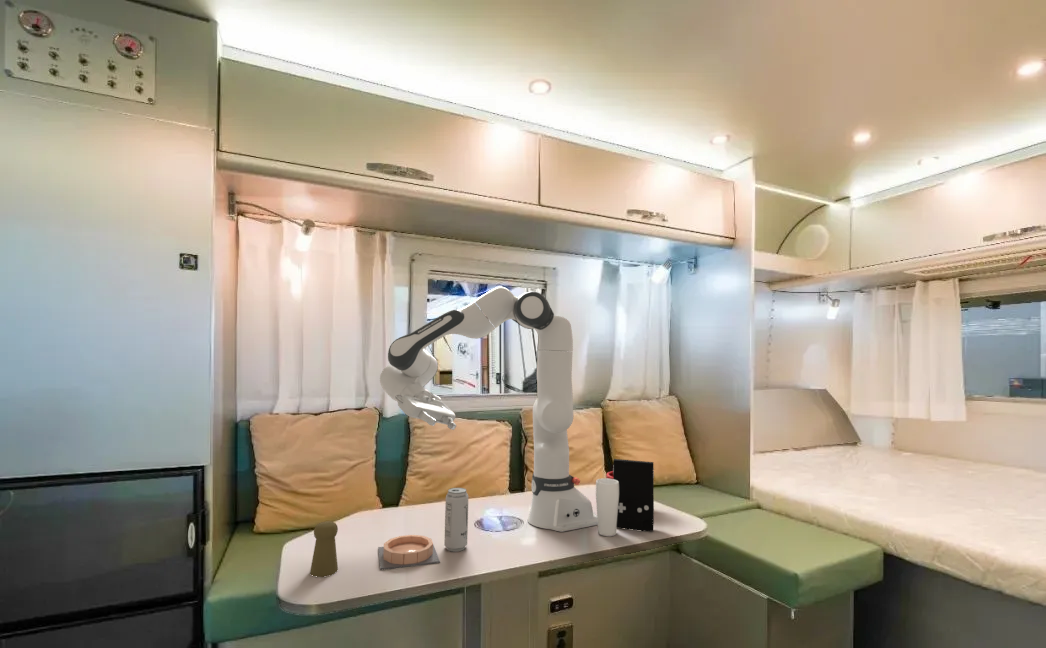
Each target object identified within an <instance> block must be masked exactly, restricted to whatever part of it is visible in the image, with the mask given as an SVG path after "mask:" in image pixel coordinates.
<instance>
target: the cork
mask: <svg viewBox="0 0 1046 648" xmlns="http://www.w3.org/2000/svg"><path fill="white" fill-rule="evenodd" d="M338 531H339V528H338V524H337V522H334V521H323V522H322V521H321V522H320V523H317V524H316V526H315V527H314V530H313V537H314V538H315V543H314V548H313V555H312V560H311V566H310V571H309V574H311V575H313V576H317V577H316V578H325V577H324V576H326V577H329V575H330V576H332V574H333V575H335V574H336V573H337V572H338V571H337V570H339V568H338V557H337V555H338V554H337V546H336V545H337V544H336V536H337V534H338ZM335 572H336V573H335ZM311 575H310V576H311ZM313 576H312V577H313Z"/></svg>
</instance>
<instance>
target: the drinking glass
mask: <svg viewBox="0 0 1046 648" xmlns="http://www.w3.org/2000/svg"><path fill="white" fill-rule="evenodd" d="M595 504H596V515H597V519H598V525H597V533H598V534H599V535H600V536H604V537H614V536H616V534H617V532H618V531H617V528H618V527H617V515H618V504H619V481H617V480H614V479H608V478H606V477H603V478H597V479H596V480H595Z"/></svg>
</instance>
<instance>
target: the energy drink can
mask: <svg viewBox="0 0 1046 648" xmlns="http://www.w3.org/2000/svg"><path fill="white" fill-rule="evenodd" d="M444 511H445V513H444V547H445V548H446V550H447V551H449V552H461V551H464V550H465V548H466V547H467V546H468V531H469V529H468V528H469V527H468V525H469V494H468V492H467V488H463V487H451V488H449V489H448V490H447V493H446V496H445V510H444Z"/></svg>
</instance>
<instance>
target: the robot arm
mask: <svg viewBox="0 0 1046 648" xmlns="http://www.w3.org/2000/svg"><path fill="white" fill-rule="evenodd" d="M508 320H512V321H514V322H515V323H516V324H518V325H519V326H521V327H522V328H524V329H527V330H534V331H536V333H537V337H538V339H537V340H538V343H537V345H538V346H537V359H536V360H537V362H536V382H537V383H536V385H537V390H536V393H537V395H536V397H537V398H536V399H535V401H534V403H533V406H532V433H533V474H532V477H531V492H532V498H531V504H530V509H529V514H528V518H527V522H528V524H529V525H532V526H533V527H537V528H541V529H546V530H552V531H557V532H561V533H562V532H567V531H572V530H578V529H583V528H588V527H592V526H598V519H597V513H595V512H594V510H593V505H592V502H591V500H590V499H589V498H588V497H587V496H586V495H585V494H584V493H583V492H581V491H580V490H579V489H577V488H576V487H575V485H576V486H579V485H580V484H581V480H580V478H578V477H577V476H575V477H574V476H573V475H571V474H570V447H569V439H568V438H569V437H568V429H569V428H570V427H571V426H572V424H573V422H574V395H573V394H574V393H573V381H572V380H573V379H572V377H573V375H572V371H573V350H574V349H573V348H574V342H573V341H574V339H573V331H572V325H571V322H570V321H569V320H568V319H567V318H565V317H564V316H559V315H555V313H554V311H553V309H552V307H551V305H550V303H549V301H548V300H547V298H546V297H545V296H544V295H543V294H542V293H540V292H537V291H533V290H532V291H526V292H523V293H522V294H520V295H519V296H515V294H513V292H511V290H509V288H506V287H504V286H496V287H495V288H492V289H491V290H489V291H487V292H486V293H484V294H482V295H481V296H479V297H478V298H476V299H475V300H474V301H473V302H470V303H469V304H468V305H466V306H464V307H462V308H460V309H459V308H458V309H452V310H448V311H447V312H445V313H443V314H441V315H439V316H437V317H436V318H434V319H432V320H431V321H429V322H427V323H425V324H424V325H423V326H421V327H419V328H417V329H416V330H414V331H413V332H410V333H407V334H404V335H403V336H401V337H398V338H396V339H395V340H393V342H392V343H391V344H390V346H389V348H388V351H387V361H388V362H389V363H388V364H390V365H387V366H385V367H384V368H383V369H382V371H381V373H380V375H379V383H380V386H381V387H382V389H383V390H384V392H385V393H386V394H387V395H388V396H389V397H390V398H391V399H392V400H393V401H396V402H397V406H398V408H399V409H400V410H401V411H402V412H403V413H404V414H405V415H406V416H408V417H409V418H413V419H417V420H421V421H423V422H425V423H427V425H429V426H433V427H434V426H435V425H436V424H437V423H438V424H442V425H446V427H447V428H448V429H450V430H453V431H454V430H455V429H456V427H457V424H456V423H455V422H454V421H455V420H456V414H455V412H453V410H452V409H451V408H450V407H449V406H448V405H447V404H445V403H444V402H443V401H442V398H441V397H439V396H438V395H436V394H435V393H433V392H430V391H429V390H428V389H427V388H425V387H426V385H428V383H429V382H430V381H431V380H432V379H433V378H434V377H435V376H436V374H437V372H438V368H439V363H438V361H437V358H435V357H434V356H433V355H432V354H431V353H430V352H429V351H427V349H426V348H427V347H429V346H430V345H433V343H435V342H437V341H438V340H440V339H441V338H443V337H446V336H448V335H459V336H463V337H466V338H468V339H469V338H470V339H474V340H475V339H481V338H484V337H485V336H487V335H489V334H491V333H492V332H493V331H494V330H496V329H497V328H498V327H500V325H502V324H503V323H505V322H507V321H508Z"/></svg>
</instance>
